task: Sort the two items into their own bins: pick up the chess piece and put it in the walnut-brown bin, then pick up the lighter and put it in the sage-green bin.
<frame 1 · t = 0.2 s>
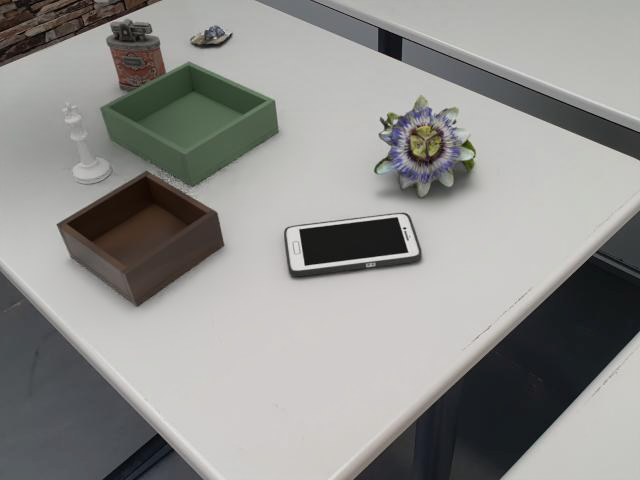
mineral rock specimen: (212, 38, 114), on the table
walnut bin: (147, 250, 79), on the table
lighter: (145, 88, 105), on the table
chess piece: (93, 173, 90), on the table
passion flower: (422, 175, 86), on the table
sage bin: (193, 135, 95), on the table
cell phone: (351, 248, 78), on the table
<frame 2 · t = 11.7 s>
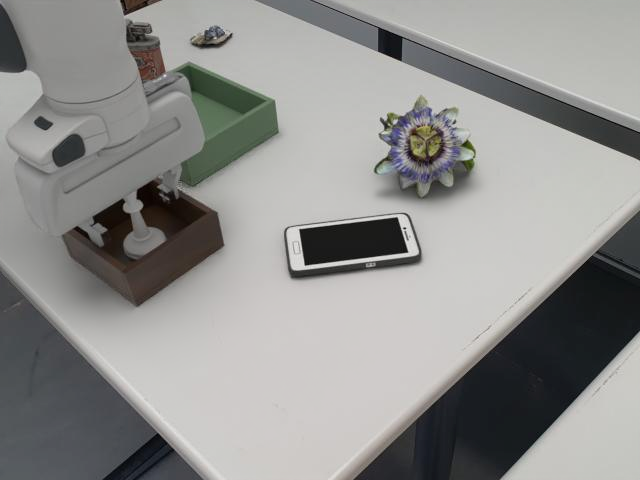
hand: (137, 220, 76), 4 cm above the table, tool pointing down, fingers open, 8 cm apart
chess piece: (146, 246, 79), point 1 cm above the table, touching walnut bin
everything else where it was.
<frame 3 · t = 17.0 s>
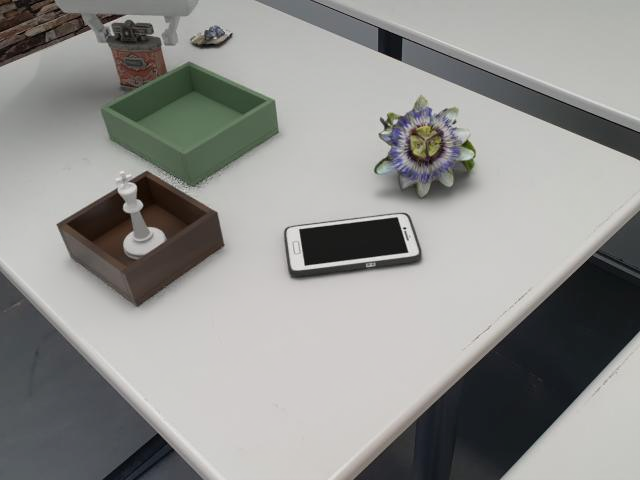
hand: (138, 42, 99), 7 cm above the table, tool pointing down, fingers open, 8 cm apart
lighter: (146, 89, 105), on the table, touching gripper
everything else where it was.
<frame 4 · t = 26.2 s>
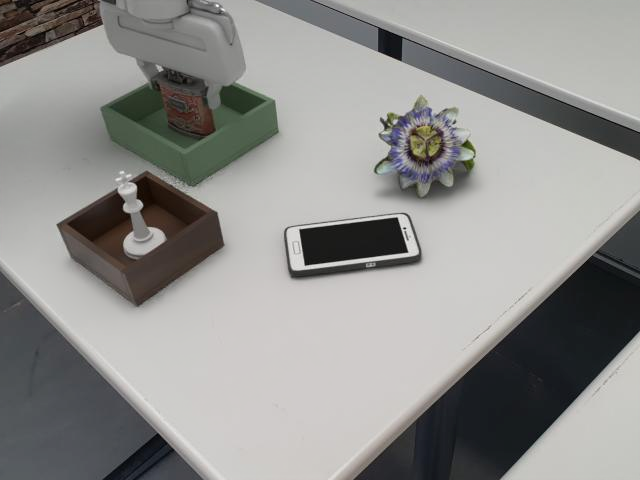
hand: (185, 97, 91), 6 cm above the table, tool pointing down, fingers open, 8 cm apart
lighter: (193, 132, 94), point 1 cm above the table, touching gripper, sage bin
everything else where it was.
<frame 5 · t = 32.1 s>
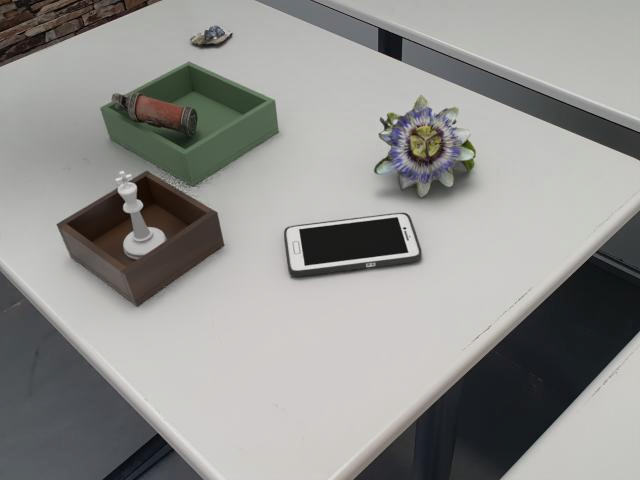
lighter: (194, 123, 90), point 4 cm above the table, touching sage bin
everything else where it was.
at the end: chess piece inside the target area in the walnut bin (0.0 cm from its centre), point 0.6 cm above the walnut bin's base; lighter inside the target area in the sage bin (3.5 cm from its centre), point 3.8 cm above the sage bin's base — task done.
